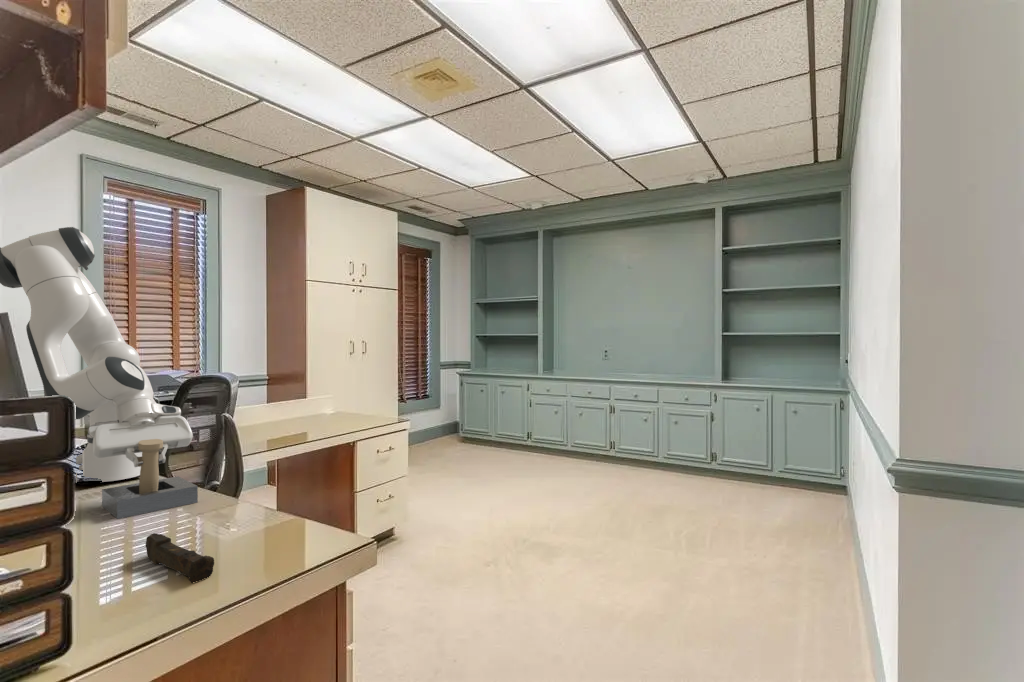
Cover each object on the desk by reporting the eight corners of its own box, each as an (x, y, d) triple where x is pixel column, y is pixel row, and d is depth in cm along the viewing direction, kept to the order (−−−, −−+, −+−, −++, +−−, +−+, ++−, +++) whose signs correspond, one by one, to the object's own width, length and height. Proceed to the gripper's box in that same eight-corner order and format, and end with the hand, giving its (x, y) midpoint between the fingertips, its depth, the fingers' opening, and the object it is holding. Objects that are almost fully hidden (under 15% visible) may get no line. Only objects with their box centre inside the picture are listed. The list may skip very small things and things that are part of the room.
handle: (135, 509, 124) (138, 445, 123) (135, 501, 129) (138, 439, 129) (160, 506, 127) (163, 443, 126) (159, 498, 132) (162, 438, 131)
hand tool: (215, 577, 88) (215, 549, 88) (189, 586, 85) (189, 557, 85) (164, 552, 99) (165, 527, 99) (140, 559, 96) (140, 533, 96)
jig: (102, 506, 126) (102, 489, 126) (178, 491, 138) (178, 476, 138) (117, 519, 117) (117, 500, 117) (197, 502, 129) (197, 485, 129)
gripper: (88, 415, 124) (98, 463, 118) (186, 406, 140) (200, 448, 133) (84, 432, 127) (94, 479, 121) (181, 422, 143) (194, 464, 136)
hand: (150, 463), depth 127 cm, fingers closed on handle, 3 cm apart
